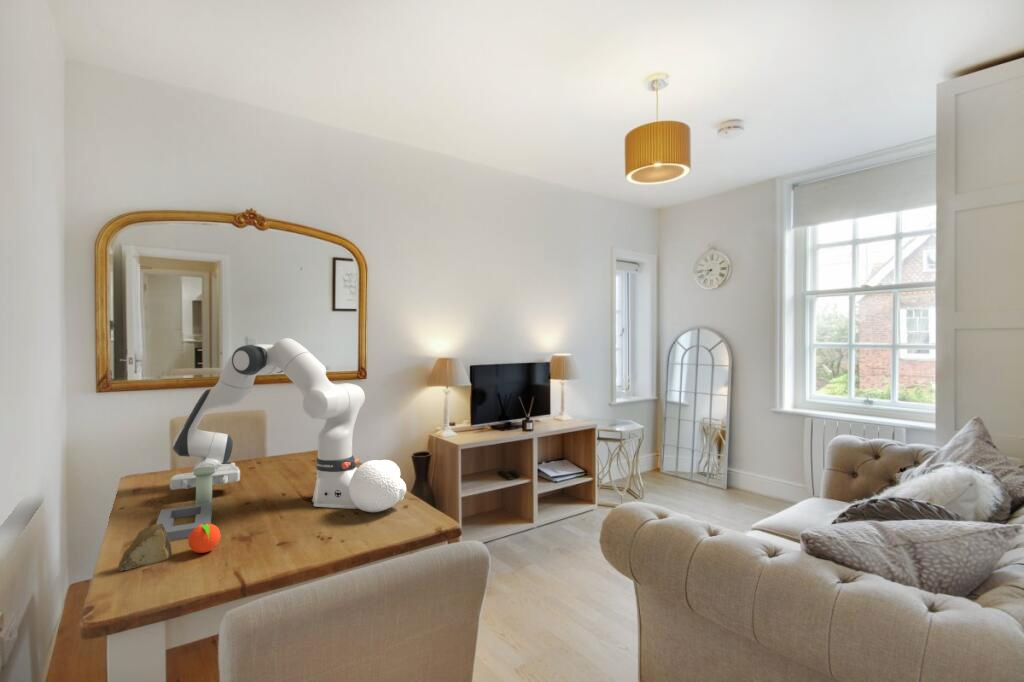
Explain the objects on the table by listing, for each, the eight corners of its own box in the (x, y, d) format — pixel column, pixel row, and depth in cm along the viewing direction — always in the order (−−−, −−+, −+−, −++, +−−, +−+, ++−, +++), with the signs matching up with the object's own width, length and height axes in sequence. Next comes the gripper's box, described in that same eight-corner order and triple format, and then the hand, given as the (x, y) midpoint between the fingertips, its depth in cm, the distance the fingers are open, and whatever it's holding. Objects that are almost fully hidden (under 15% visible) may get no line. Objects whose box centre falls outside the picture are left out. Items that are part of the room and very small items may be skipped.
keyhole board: (161, 517, 144) (161, 509, 144) (212, 510, 151) (212, 502, 151) (151, 544, 125) (151, 534, 125) (210, 534, 132) (210, 525, 132)
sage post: (218, 505, 155) (219, 467, 155) (201, 511, 150) (202, 471, 150) (205, 503, 157) (206, 465, 157) (188, 509, 151) (189, 470, 152)
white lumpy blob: (331, 517, 145) (332, 464, 145) (360, 498, 163) (361, 451, 162) (393, 523, 142) (394, 469, 141) (415, 502, 159) (416, 455, 159)
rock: (108, 568, 107) (159, 556, 110) (113, 532, 111) (162, 521, 115) (127, 579, 115) (174, 567, 118) (131, 544, 119) (176, 534, 123)
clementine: (224, 553, 120) (225, 525, 120) (192, 562, 115) (192, 532, 115) (216, 543, 126) (217, 516, 126) (185, 551, 121) (185, 523, 121)
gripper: (171, 469, 164) (166, 479, 152) (239, 462, 174) (240, 470, 163) (170, 487, 164) (166, 498, 152) (239, 479, 174) (240, 489, 162)
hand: (205, 484), depth 157 cm, fingers open, 8 cm apart
